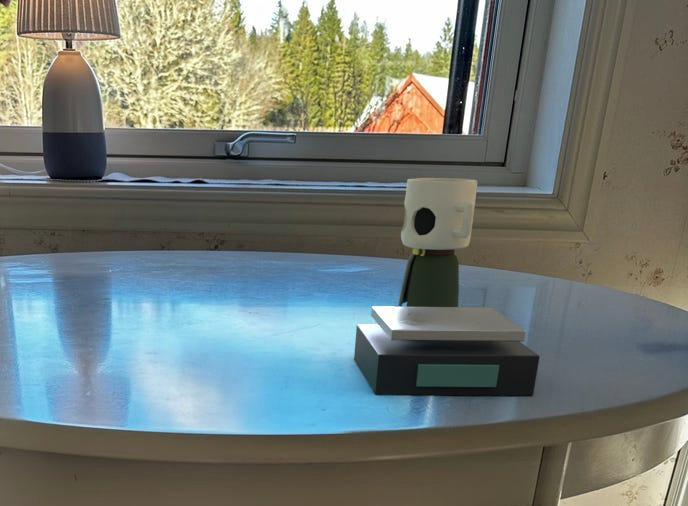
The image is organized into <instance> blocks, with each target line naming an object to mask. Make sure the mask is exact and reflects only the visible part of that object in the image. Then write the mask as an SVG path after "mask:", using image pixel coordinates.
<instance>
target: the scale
mask: <svg viewBox="0 0 688 506" xmlns="http://www.w3.org/2000/svg"><path fill="white" fill-rule="evenodd" d="M540 358H541V356H540V355H539V354H538V353H536V352H535V351H534V350H532V349H531V348H530V347H528V346H527V345H525V344H524V343H523V342H520V341H400V340H391V339H390V338H389V337H388V336H387V334H386V333H385V332H384V331H383V329H382V328H381V327H380V326H379V325H378V323H357V324H356V329H355V342H354V353H353V359H354V361H355V363H356V365H357V367H358V369H359V370H360V371H361V374H362V375H363V376H364V378H365V380H366V381H367V383H368V384H369V386H370V388H371V390H372V391H373V393H374V395H375V396H376V395H379V396H380V395H381V396H385V395H387V396H392V395H393V396H492V397H493V396H495V397H496V396H497V397H498V396H503V397H504V396H507V397H509V396H511V397H514V396H516V397H532V396H534V393H535V386H536V381H537V374H538V369H539V365H540Z"/></svg>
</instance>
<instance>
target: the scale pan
mask: <svg viewBox="0 0 688 506" xmlns="http://www.w3.org/2000/svg"><path fill="white" fill-rule="evenodd" d="M370 315H371V317H372V319H373V320H374V321H375V322H376V324H378V325H379V326H380V327H381V328H382V329H383V331H384V332H385V333H386V334H387V336H388V337H389V338H390V339H391V340H400V341H520V342H521V343H523V342H525V340H526V335H527V330H526V329H524V328H523V327H521V326H519V325H518V324H517V323H515V322H513V320H510V319H509V318H508V317H506V316H505V315H503V314H502V313H500V312H499V311H497V310H496V309H494V308H492V307H486V306H485V307H483V306H482V307H481V306H478V307H476V306H474V307H473V306H472V307H471V306H458V307H406V306H402V307H399V306H375V305H374V306H372V307H371V313H370Z"/></svg>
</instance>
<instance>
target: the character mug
mask: <svg viewBox="0 0 688 506" xmlns="http://www.w3.org/2000/svg"><path fill="white" fill-rule="evenodd" d="M406 180H407V181H406V186H405V187H406V188H405V197H404V202H403V204H404V221H403V225H402V228H401V232H400V238H401V239H400V240H401V241H402V245H403V246H406V247H408V248H411V249H412V253H411V254H410V255H409V258H408V259H407V261H406V267H405V271H404V275H403V279H402V284H401V288H400V294H399V299H398V305H397V307H403V304H405V303H406V306H405V307H459V293H460V273H459V272H460V271H459V270H460V269H459V265H460V264H459V259H458V256H457V254H455V251H456V250H461V249H464V248H467V247H469V245H470V242H471V238H472V230H473V223H474V215H475V214H474V213H475V207H476V199H477V191H478V180H476V179H472V178H471V179H470V178H458V177H457V178H455V177H454V178H453V177H417V178H408V179H406Z"/></svg>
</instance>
